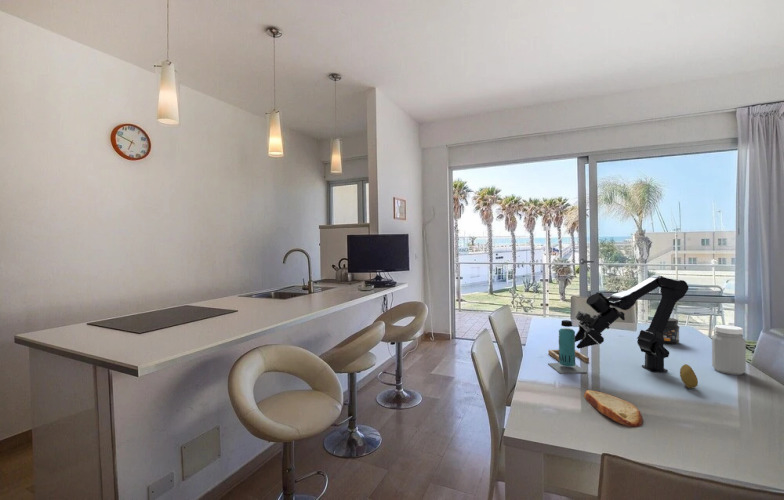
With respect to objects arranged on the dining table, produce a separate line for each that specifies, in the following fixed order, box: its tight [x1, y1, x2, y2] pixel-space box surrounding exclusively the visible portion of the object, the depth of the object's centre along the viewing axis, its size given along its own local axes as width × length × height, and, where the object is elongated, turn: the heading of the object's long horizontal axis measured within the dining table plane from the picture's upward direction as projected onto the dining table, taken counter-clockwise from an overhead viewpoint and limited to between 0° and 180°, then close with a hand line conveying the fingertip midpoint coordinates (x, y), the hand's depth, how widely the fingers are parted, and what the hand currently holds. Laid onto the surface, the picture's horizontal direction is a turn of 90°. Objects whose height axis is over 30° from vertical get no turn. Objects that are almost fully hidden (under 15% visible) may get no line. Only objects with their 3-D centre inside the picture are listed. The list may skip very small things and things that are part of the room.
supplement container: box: [663, 317, 680, 345], centre depth 182 cm, size 10×10×12 cm
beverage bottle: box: [558, 319, 577, 366], centre depth 148 cm, size 6×7×20 cm
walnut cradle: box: [547, 349, 590, 363], centre depth 162 cm, size 12×12×2 cm
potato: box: [679, 364, 699, 389], centre depth 127 cm, size 7×8×8 cm
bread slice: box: [583, 389, 644, 428], centre depth 113 cm, size 18×18×4 cm
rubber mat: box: [547, 362, 588, 375], centre depth 149 cm, size 11×11×1 cm
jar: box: [711, 324, 747, 376], centre depth 141 cm, size 10×10×18 cm
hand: (575, 344), depth 147 cm, fingers open, 9 cm apart
